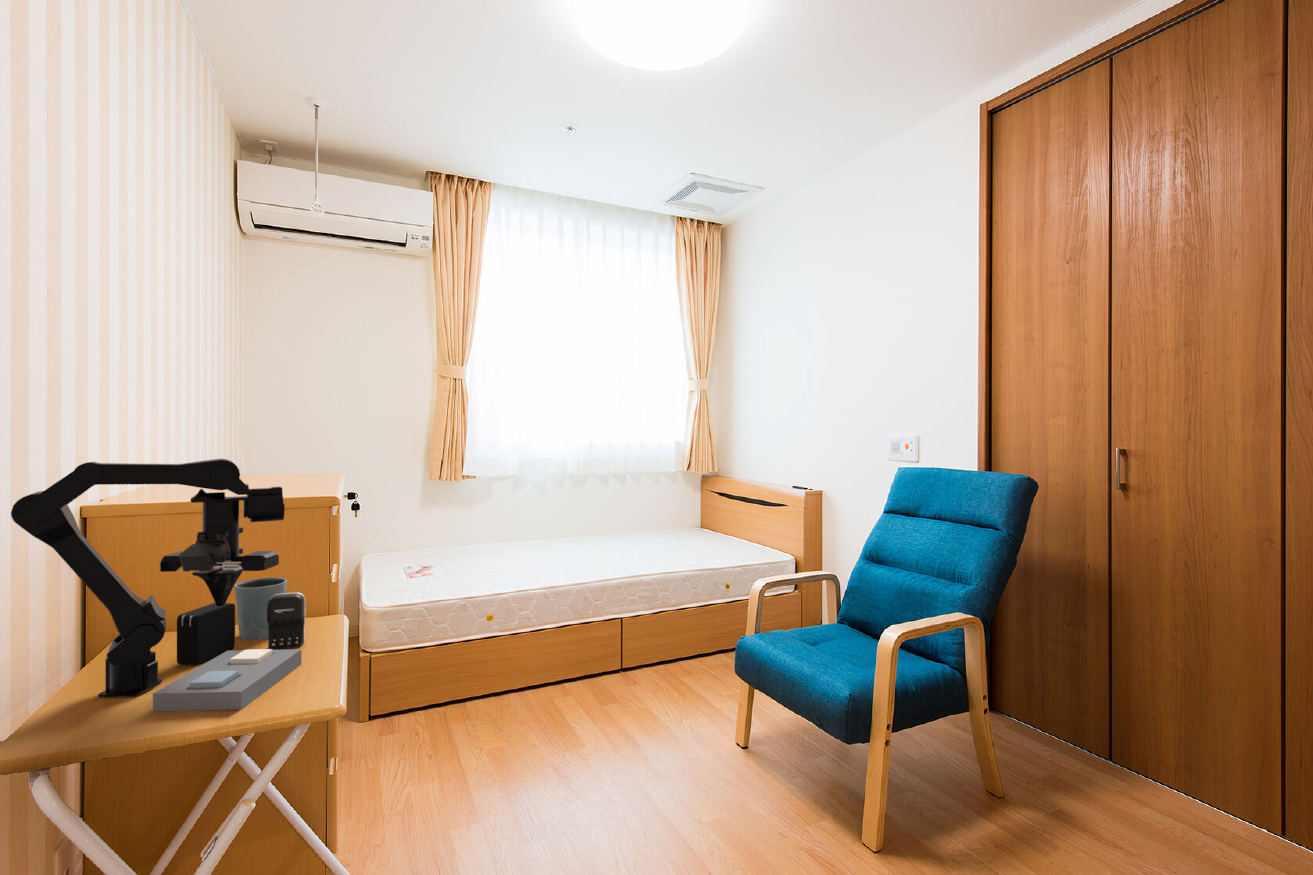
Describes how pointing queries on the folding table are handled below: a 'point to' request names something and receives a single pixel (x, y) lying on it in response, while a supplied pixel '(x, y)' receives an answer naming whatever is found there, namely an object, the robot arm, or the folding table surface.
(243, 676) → the key panel
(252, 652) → the ivory key
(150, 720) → the folding table surface
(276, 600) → the battery charger
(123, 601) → the robot arm
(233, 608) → the electronic device
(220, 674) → the slate key
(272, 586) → the teal cup
